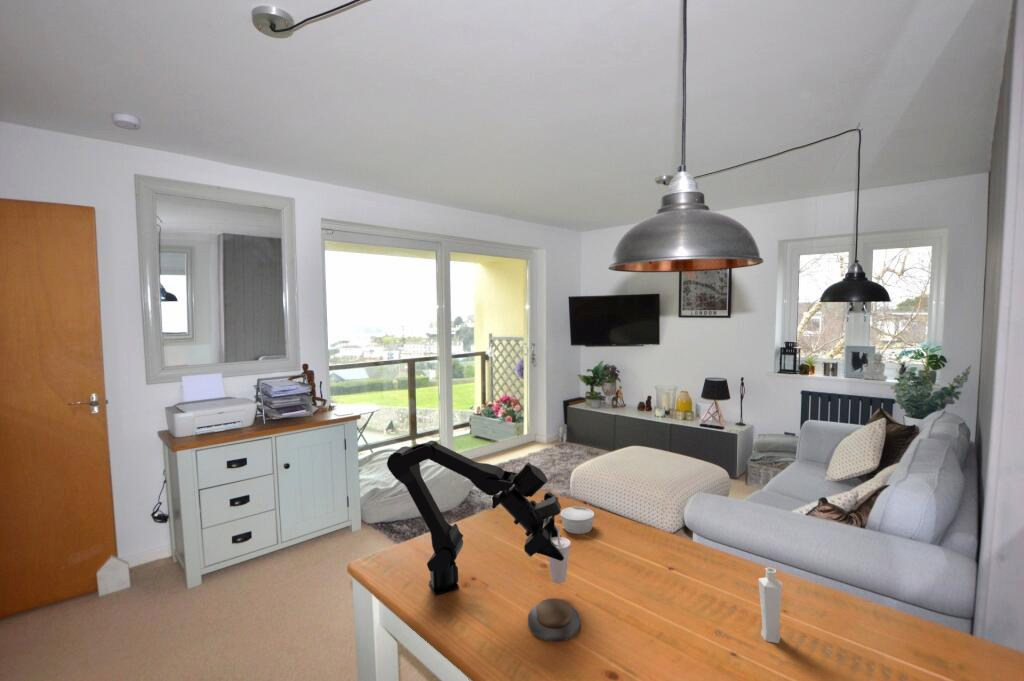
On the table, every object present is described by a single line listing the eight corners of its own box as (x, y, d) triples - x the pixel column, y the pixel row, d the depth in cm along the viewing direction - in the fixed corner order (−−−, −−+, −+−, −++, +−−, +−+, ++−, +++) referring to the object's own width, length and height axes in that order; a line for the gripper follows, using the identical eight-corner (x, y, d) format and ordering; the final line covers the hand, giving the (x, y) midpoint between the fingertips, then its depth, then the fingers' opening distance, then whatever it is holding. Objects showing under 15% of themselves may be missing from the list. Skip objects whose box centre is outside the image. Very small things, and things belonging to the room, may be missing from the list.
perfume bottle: (761, 627, 105) (760, 562, 104) (783, 635, 102) (783, 568, 101) (756, 638, 101) (756, 571, 101) (779, 647, 99) (779, 577, 98)
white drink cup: (551, 588, 115) (550, 533, 114) (542, 574, 121) (541, 522, 121) (575, 583, 117) (574, 529, 116) (565, 570, 123) (564, 518, 122)
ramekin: (596, 522, 160) (596, 507, 160) (592, 538, 149) (591, 521, 149) (564, 519, 163) (564, 504, 163) (557, 534, 153) (557, 518, 152)
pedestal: (544, 648, 100) (544, 632, 100) (519, 616, 111) (518, 602, 111) (590, 630, 105) (590, 615, 105) (562, 602, 116) (562, 588, 116)
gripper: (537, 501, 109) (585, 551, 108) (545, 474, 128) (587, 516, 126) (504, 532, 111) (551, 581, 110) (517, 501, 130) (558, 543, 128)
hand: (563, 552), depth 119 cm, fingers closed on white drink cup, 6 cm apart
